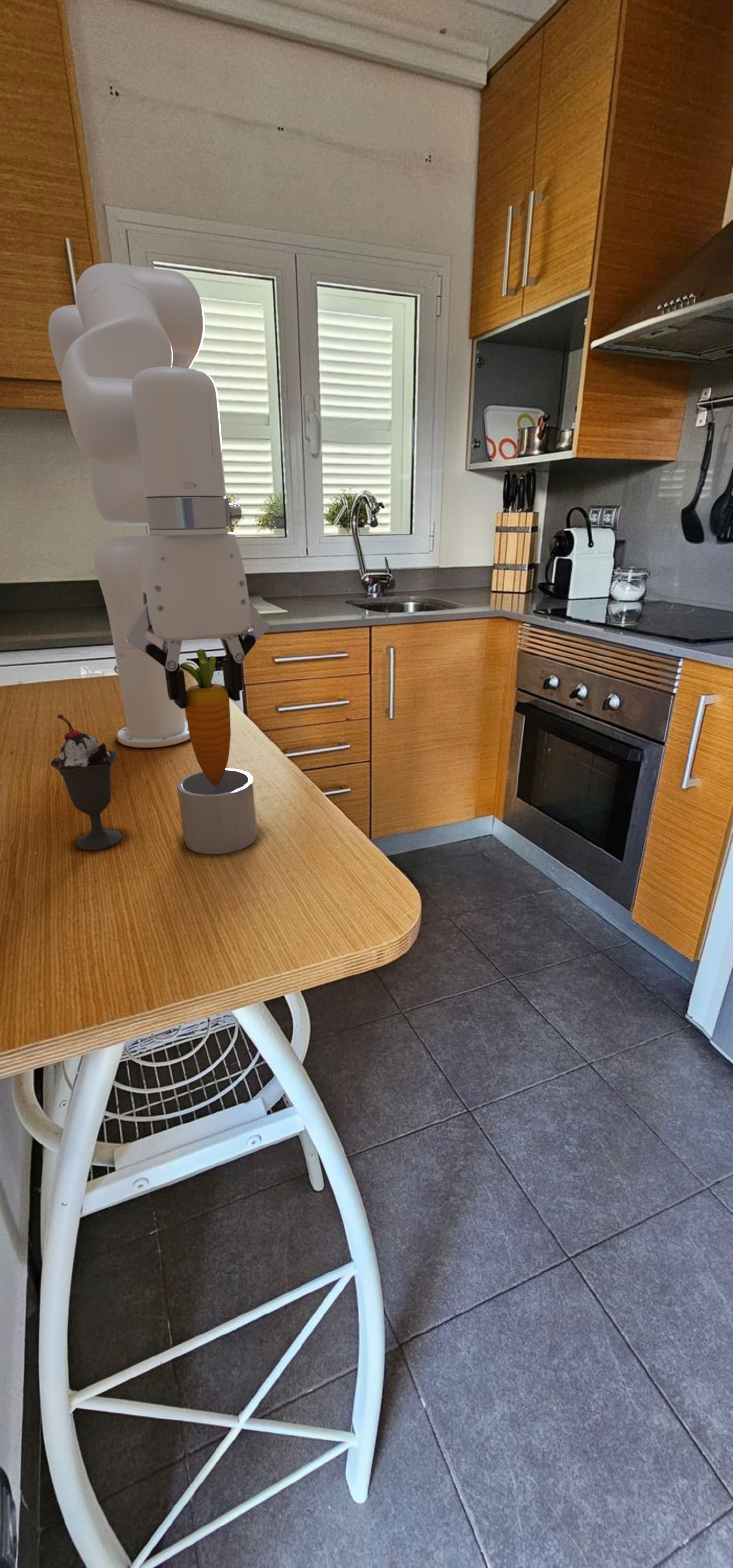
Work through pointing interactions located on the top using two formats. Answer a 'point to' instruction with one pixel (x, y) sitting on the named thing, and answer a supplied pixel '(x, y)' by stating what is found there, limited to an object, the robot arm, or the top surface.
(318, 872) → the top surface
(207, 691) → the carrot
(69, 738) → the sundae
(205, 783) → the gray cup
